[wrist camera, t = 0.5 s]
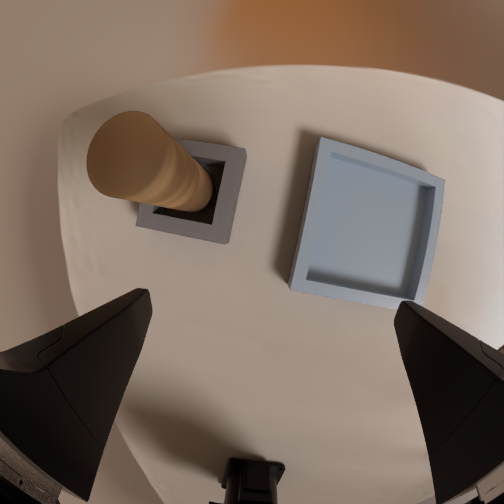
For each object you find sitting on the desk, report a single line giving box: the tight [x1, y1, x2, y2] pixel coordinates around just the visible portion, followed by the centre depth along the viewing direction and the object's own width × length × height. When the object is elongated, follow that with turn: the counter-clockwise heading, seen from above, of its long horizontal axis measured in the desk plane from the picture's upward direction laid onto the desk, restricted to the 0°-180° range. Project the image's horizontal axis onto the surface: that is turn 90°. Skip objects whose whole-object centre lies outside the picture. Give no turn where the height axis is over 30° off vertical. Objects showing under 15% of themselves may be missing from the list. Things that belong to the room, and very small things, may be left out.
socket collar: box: [136, 139, 247, 244], centre depth 21 cm, size 7×7×2 cm
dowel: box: [87, 111, 217, 213], centre depth 16 cm, size 4×4×13 cm
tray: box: [288, 137, 445, 309], centre depth 21 cm, size 12×12×2 cm
